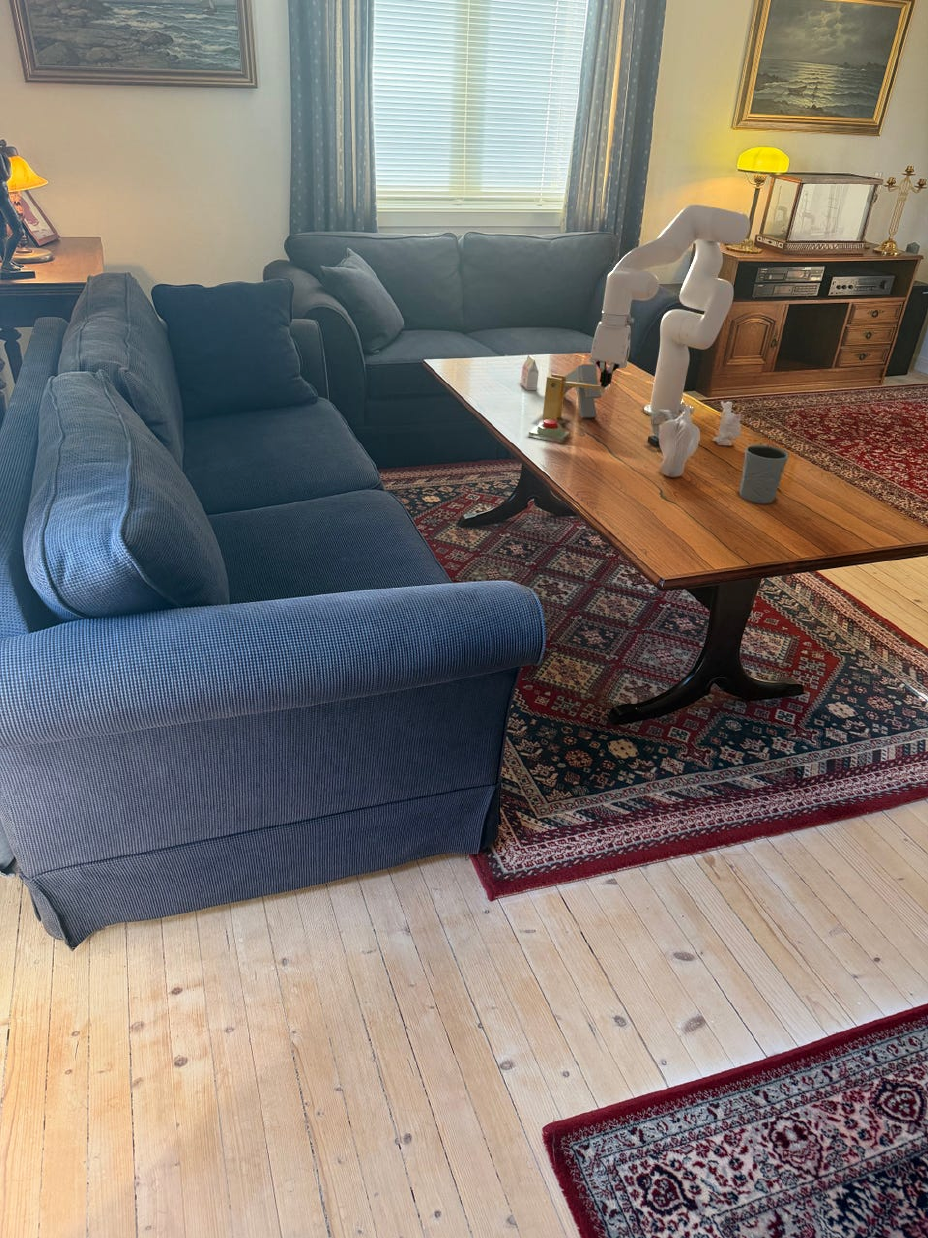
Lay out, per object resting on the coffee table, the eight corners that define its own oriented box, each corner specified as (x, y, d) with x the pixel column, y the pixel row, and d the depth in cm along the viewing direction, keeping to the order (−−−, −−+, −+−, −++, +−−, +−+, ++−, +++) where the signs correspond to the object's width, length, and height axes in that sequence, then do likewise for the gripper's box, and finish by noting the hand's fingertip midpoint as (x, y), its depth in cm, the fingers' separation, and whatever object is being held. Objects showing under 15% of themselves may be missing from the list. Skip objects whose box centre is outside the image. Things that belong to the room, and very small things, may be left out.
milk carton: (531, 383, 287) (534, 354, 282) (536, 389, 282) (539, 359, 277) (520, 384, 287) (523, 354, 281) (526, 389, 281) (529, 359, 276)
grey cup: (770, 508, 206) (782, 462, 200) (730, 497, 210) (741, 452, 204) (780, 495, 213) (792, 450, 207) (741, 485, 218) (752, 441, 211)
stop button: (558, 426, 240) (559, 420, 239) (554, 430, 237) (555, 424, 236) (545, 424, 241) (546, 418, 240) (541, 427, 238) (541, 421, 237)
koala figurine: (705, 439, 247) (713, 399, 241) (723, 437, 250) (732, 398, 244) (723, 449, 241) (732, 408, 235) (741, 447, 243) (751, 407, 237)
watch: (658, 442, 243) (665, 405, 237) (674, 452, 237) (682, 414, 231) (642, 444, 241) (649, 406, 235) (658, 453, 235) (665, 415, 229)
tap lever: (609, 390, 244) (610, 381, 243) (604, 394, 240) (605, 386, 239) (554, 383, 250) (554, 375, 249) (548, 388, 246) (548, 380, 245)
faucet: (549, 430, 277) (585, 418, 248) (546, 378, 275) (583, 360, 246) (566, 429, 279) (604, 417, 250) (564, 378, 277) (602, 360, 248)
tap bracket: (568, 420, 255) (574, 375, 248) (559, 428, 248) (564, 382, 241) (543, 415, 258) (548, 370, 251) (534, 423, 251) (538, 377, 244)
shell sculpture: (670, 482, 216) (683, 414, 207) (650, 471, 222) (662, 404, 213) (694, 478, 220) (709, 411, 210) (674, 467, 226) (687, 402, 216)
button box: (568, 437, 242) (570, 425, 240) (561, 444, 236) (562, 432, 235) (536, 431, 245) (537, 419, 243) (528, 437, 240) (529, 425, 238)
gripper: (644, 321, 232) (633, 387, 242) (592, 313, 237) (583, 378, 247) (637, 325, 226) (626, 393, 236) (585, 317, 231) (576, 384, 241)
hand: (604, 385), depth 241 cm, fingers closed
